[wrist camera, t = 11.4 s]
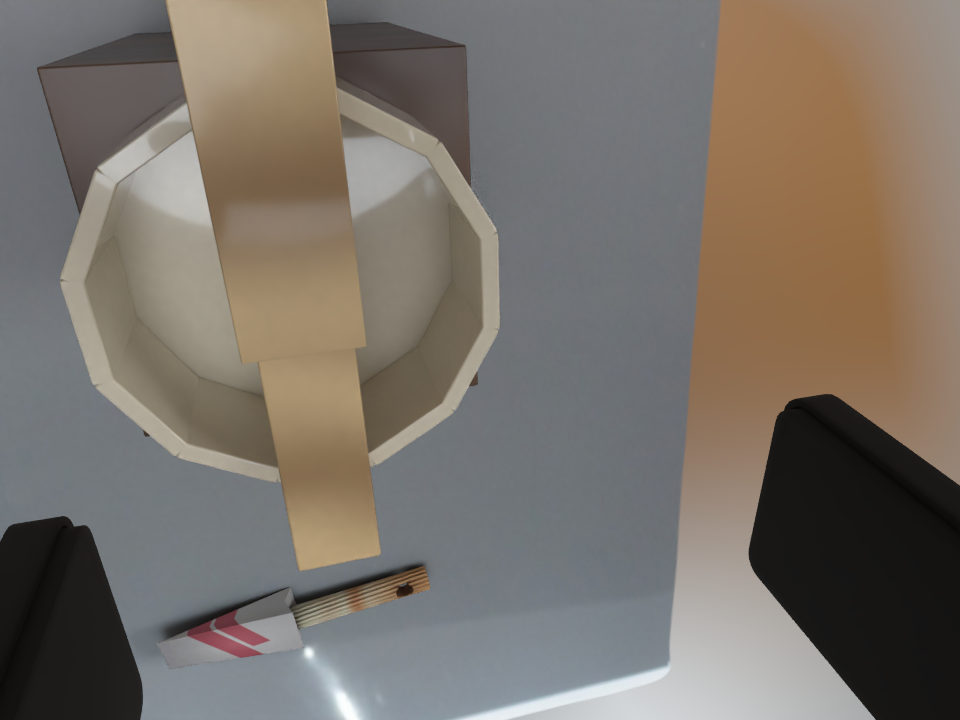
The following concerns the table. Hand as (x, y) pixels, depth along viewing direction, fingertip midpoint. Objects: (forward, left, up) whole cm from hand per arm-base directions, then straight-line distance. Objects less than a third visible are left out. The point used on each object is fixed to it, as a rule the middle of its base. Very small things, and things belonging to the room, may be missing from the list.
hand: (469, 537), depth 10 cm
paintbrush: (+36, -6, -36) cm, 51 cm away
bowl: (+2, -2, -18) cm, 18 cm away
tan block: (+2, -2, -13) cm, 13 cm away
